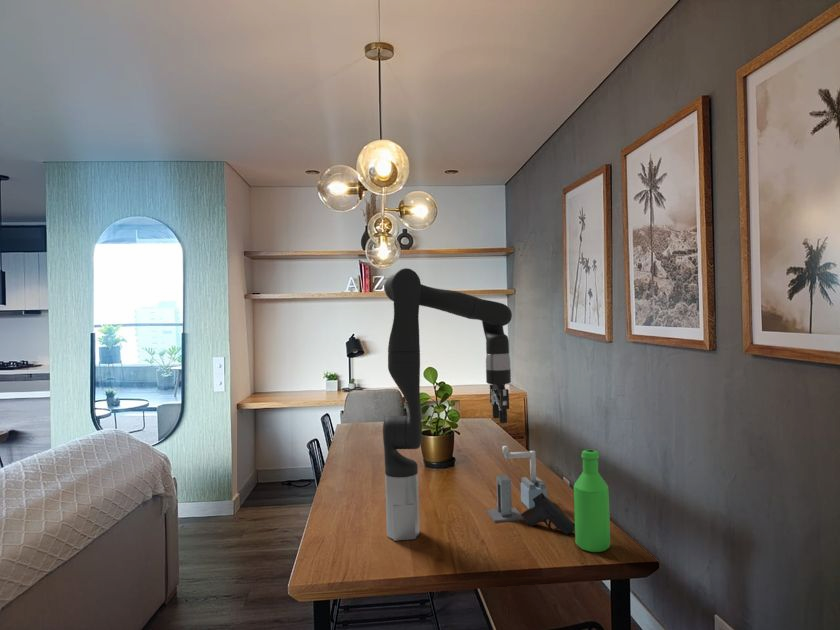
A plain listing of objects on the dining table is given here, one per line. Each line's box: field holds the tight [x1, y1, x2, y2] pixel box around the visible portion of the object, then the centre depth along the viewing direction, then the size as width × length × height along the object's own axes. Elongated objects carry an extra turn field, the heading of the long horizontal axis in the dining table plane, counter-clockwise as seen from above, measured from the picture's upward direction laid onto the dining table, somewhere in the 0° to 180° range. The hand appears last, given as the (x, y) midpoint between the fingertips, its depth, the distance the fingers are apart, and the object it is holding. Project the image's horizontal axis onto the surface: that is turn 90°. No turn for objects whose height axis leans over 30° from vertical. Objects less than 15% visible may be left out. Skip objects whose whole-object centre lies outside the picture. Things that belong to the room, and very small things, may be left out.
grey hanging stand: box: [502, 445, 548, 510], centre depth 176 cm, size 8×13×19 cm, turn 98°
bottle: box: [573, 449, 611, 553], centre depth 143 cm, size 9×9×25 cm
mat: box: [486, 507, 525, 523], centre depth 166 cm, size 9×9×1 cm
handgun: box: [520, 493, 575, 536], centre depth 155 cm, size 3×14×10 cm
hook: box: [496, 474, 513, 517], centre depth 167 cm, size 5×3×11 cm, turn 7°
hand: (499, 420), depth 169 cm, fingers open, 8 cm apart
